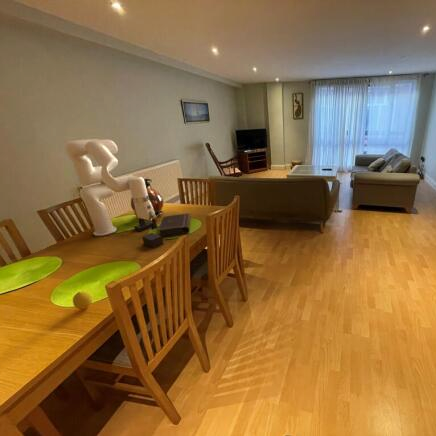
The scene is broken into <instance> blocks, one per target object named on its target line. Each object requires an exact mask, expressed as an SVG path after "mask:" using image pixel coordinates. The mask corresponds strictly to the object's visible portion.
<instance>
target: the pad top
mask: <svg viewBox="0 0 436 436" xmlns="http://www.w3.org/2000/svg"><path fill="white" fill-rule="evenodd" d="M145 223H146V225H145V226H143V227H140V224H137V225H134V226H133V227H134V230H135V231H137V232H140V233H141V232H143V231H146V230H149V229H151V225H150V223H151V222H150V221H149V220H147V221H145Z"/></svg>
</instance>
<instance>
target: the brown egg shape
mask: <svg viewBox="0 0 436 436" xmlns="http://www.w3.org/2000/svg"><path fill="white" fill-rule="evenodd" d="M72 303H73V306H74V307H75V308H76V309H78V310H86V309H88V308H89V307H90V306H91V305H92V303H93V297H92V295H91V294H90V293H89V292H88V291H84V290H83V291H78V292H76V293H75V294H74V295H73V298H72Z"/></svg>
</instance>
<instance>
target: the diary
mask: <svg viewBox="0 0 436 436" xmlns="http://www.w3.org/2000/svg"><path fill="white" fill-rule="evenodd" d="M190 223H191V215H190V213H182V214H172V215H166V216H163V217H162V219H161V221H160V224H159V226H158V227H157V232H159V233H160V234H159V236H161V237H162V238H163V237H169V236H175V235H177V236H178V235H183V234H188V233H189V232H190Z"/></svg>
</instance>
